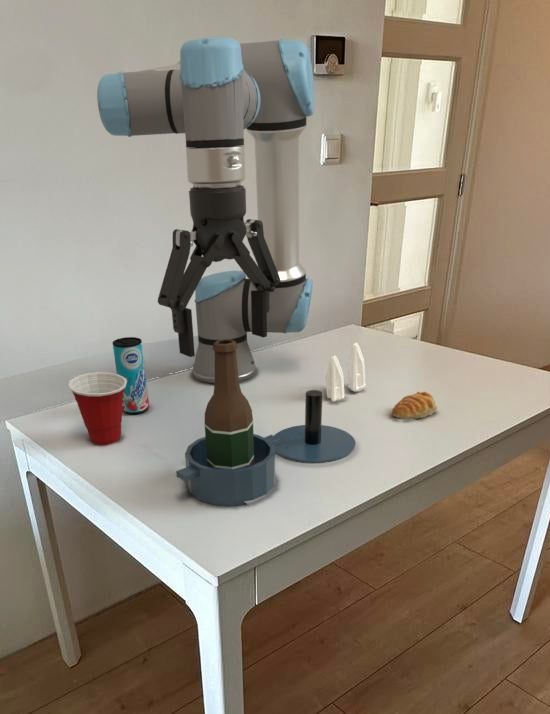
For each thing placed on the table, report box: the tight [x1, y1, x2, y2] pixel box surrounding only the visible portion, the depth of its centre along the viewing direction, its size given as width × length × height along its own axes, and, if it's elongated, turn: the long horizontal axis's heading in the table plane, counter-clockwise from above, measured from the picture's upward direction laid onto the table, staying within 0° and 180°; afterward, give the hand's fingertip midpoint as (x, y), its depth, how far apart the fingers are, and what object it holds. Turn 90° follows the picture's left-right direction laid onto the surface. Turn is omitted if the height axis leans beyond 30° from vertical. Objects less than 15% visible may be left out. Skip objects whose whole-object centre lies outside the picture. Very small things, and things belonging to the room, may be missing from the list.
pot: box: [175, 433, 280, 507], centre depth 105 cm, size 15×20×6 cm
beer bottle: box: [204, 339, 254, 469], centre depth 100 cm, size 8×8×24 cm
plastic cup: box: [67, 371, 127, 446], centre depth 121 cm, size 11×11×12 cm
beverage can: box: [112, 336, 150, 415], centre depth 132 cm, size 6×6×15 cm
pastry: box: [392, 391, 438, 420], centre depth 128 cm, size 9×7×4 cm
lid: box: [273, 389, 356, 464], centre depth 115 cm, size 16×16×11 cm
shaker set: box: [325, 342, 367, 402], centre depth 137 cm, size 12×4×11 cm, turn 129°
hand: (224, 344), depth 94 cm, fingers open, 13 cm apart
